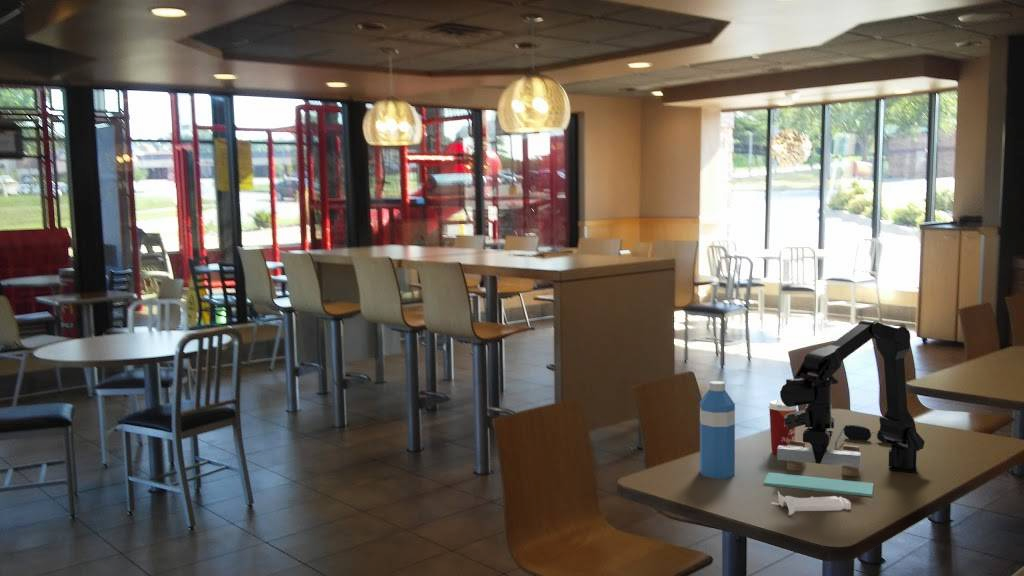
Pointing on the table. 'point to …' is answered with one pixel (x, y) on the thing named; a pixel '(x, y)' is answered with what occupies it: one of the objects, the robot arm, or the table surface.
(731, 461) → the water bottle
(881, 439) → the sunglasses
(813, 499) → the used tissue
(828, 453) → the rail
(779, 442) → the coffee cup
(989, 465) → the table surface
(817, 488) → the mat
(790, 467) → the stand
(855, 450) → the stand
